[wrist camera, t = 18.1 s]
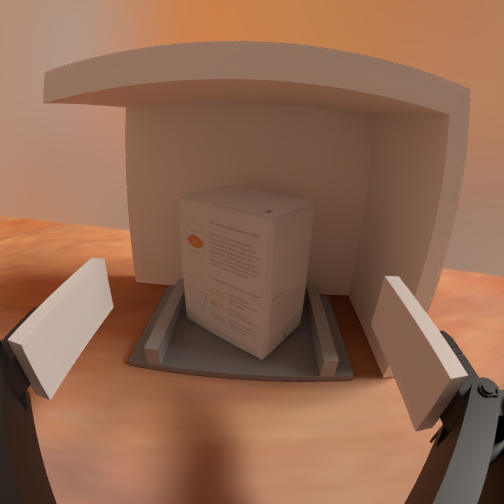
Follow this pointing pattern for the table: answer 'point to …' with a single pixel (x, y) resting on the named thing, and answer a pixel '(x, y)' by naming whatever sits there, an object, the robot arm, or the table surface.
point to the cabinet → (283, 180)
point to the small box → (245, 264)
